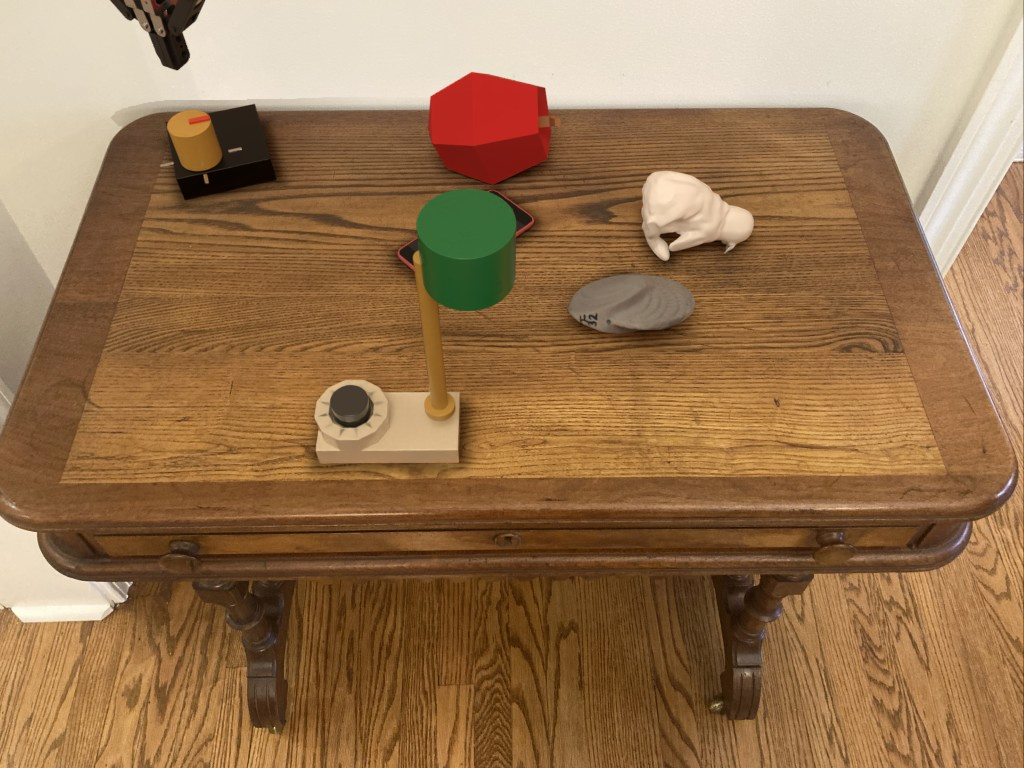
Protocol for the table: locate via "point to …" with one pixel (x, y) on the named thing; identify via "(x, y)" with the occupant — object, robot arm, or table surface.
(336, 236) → the table surface
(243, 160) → the panel
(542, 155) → the apple
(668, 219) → the cream figurine
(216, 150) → the dimmer knob
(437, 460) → the lamp base
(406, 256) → the smartphone
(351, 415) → the lamp switch
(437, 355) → the lamp
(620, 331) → the seashell
